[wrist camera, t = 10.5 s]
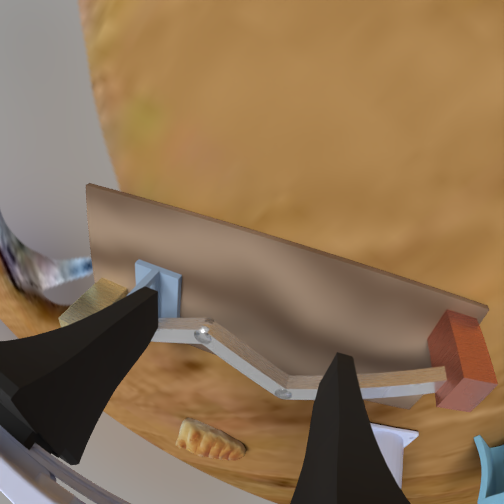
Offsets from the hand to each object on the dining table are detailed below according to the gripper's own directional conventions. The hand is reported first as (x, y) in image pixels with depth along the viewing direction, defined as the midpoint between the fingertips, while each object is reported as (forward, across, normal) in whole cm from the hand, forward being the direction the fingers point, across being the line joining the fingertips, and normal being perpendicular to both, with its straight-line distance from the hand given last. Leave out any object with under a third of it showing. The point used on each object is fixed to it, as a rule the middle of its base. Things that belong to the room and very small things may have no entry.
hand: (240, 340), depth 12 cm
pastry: (+11, +3, +33) cm, 34 cm away
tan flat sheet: (+10, 0, +8) cm, 13 cm away
